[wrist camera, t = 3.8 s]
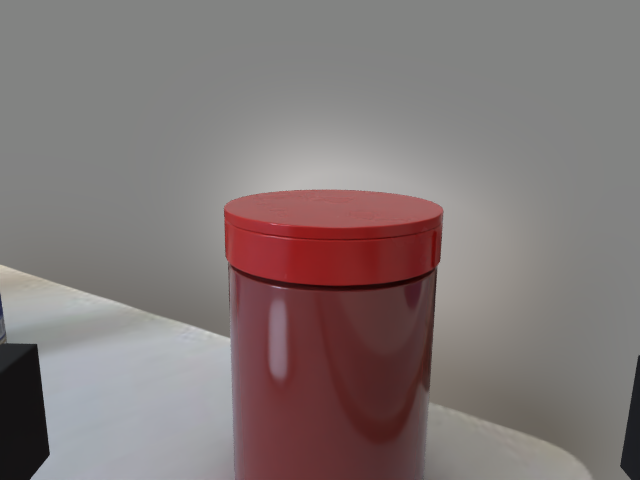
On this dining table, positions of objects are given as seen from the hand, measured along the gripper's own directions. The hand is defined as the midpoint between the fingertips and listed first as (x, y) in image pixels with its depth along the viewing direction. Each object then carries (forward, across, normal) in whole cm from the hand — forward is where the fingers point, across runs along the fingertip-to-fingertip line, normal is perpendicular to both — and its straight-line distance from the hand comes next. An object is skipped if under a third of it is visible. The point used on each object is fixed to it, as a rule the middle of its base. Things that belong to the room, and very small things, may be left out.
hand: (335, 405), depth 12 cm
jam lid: (+9, 0, +2) cm, 10 cm away
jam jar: (+10, 0, -9) cm, 13 cm away
